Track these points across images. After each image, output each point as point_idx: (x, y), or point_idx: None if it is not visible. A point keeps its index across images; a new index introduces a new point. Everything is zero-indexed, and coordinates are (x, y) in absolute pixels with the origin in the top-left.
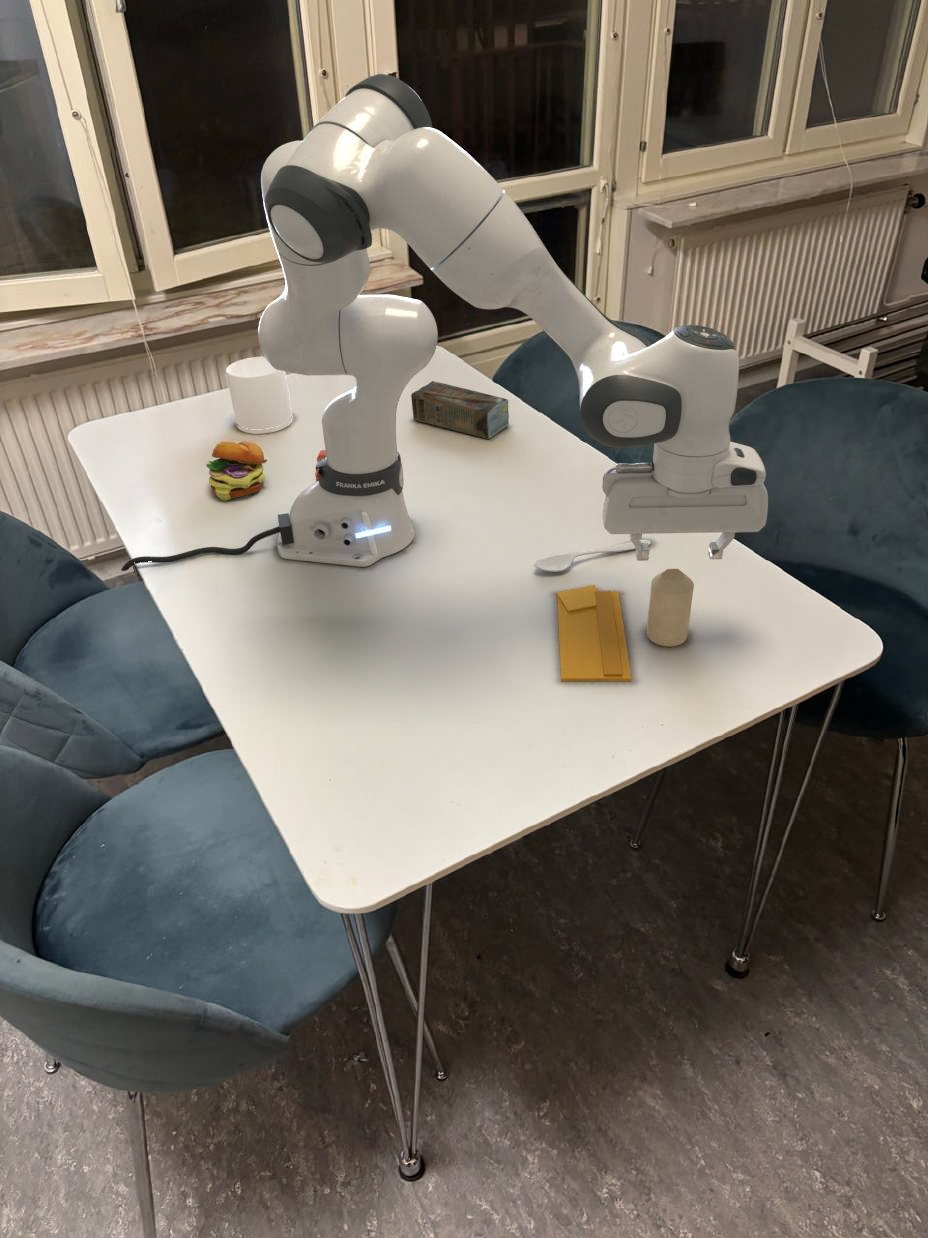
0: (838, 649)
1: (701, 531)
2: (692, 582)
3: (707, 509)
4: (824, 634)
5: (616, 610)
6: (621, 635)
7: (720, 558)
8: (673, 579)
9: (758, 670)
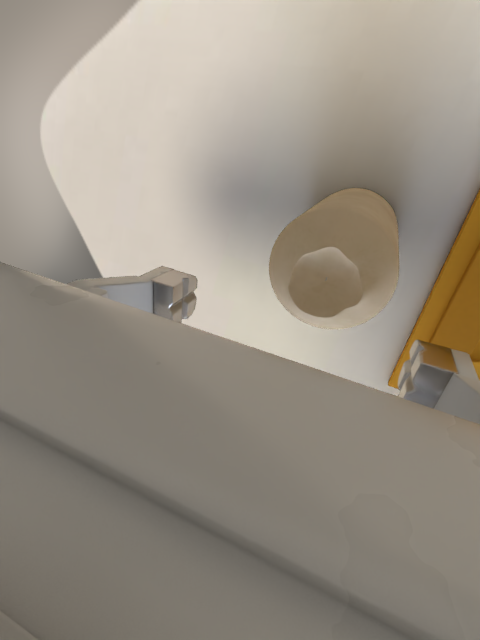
0: (79, 128)
1: (164, 318)
2: (272, 259)
3: (27, 395)
4: (93, 175)
5: (425, 333)
6: (464, 246)
7: (166, 267)
8: (324, 279)
9: (213, 72)
